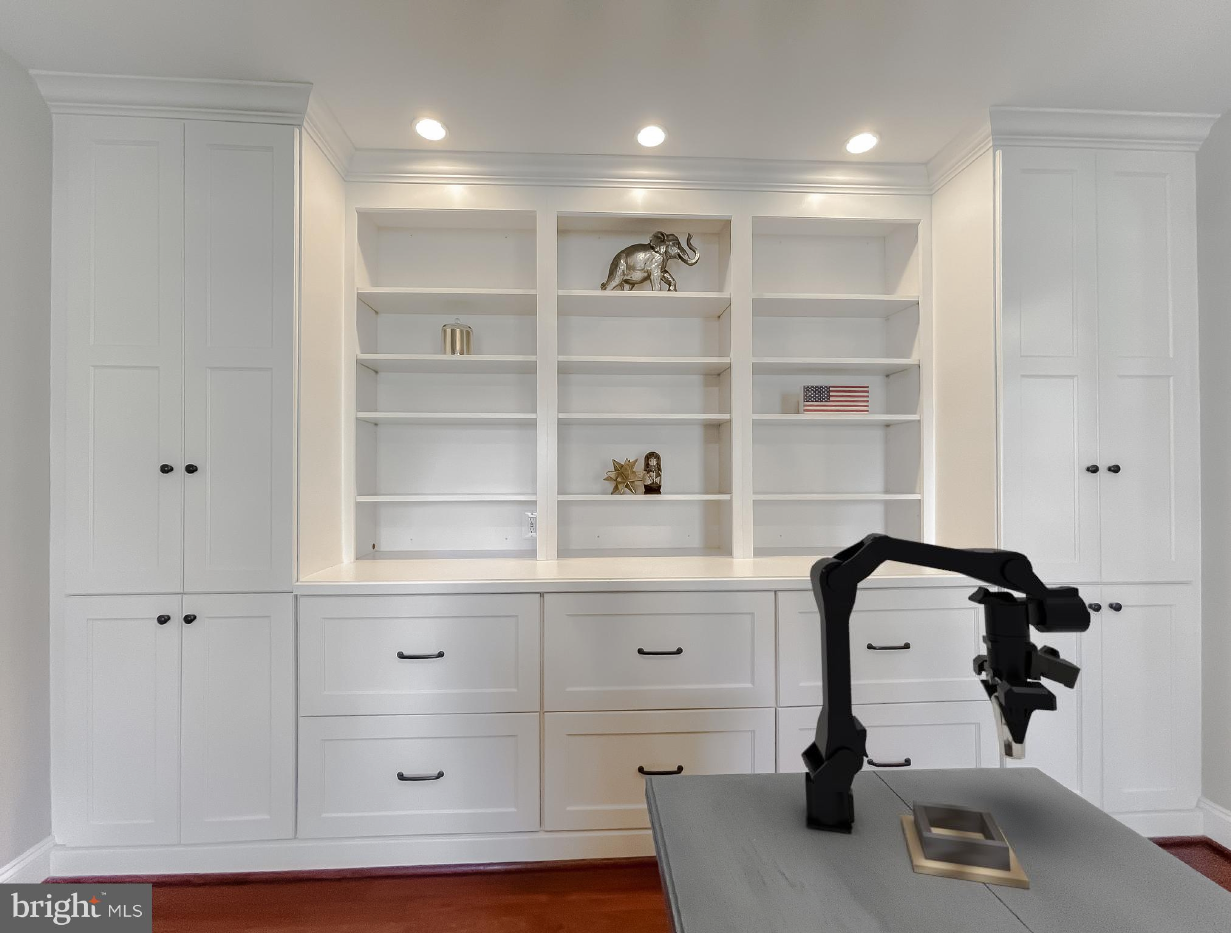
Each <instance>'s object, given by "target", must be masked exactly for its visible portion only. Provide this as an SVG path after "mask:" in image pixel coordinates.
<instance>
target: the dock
mask: <svg viewBox="0 0 1231 933" xmlns="http://www.w3.org/2000/svg"><path fill="white" fill-rule="evenodd" d="M912 814H913V815H908V814H902V813H901V814H900V822H901V825H902V830H903V833H904V836H905V841H906V844H907V848H908V852H909V856H910V859H911V864H912V868H913V872H914V873H916V874H917V873H919V874H925V875H931V876H937V877H938V876H939V877H945V878H951V879H952V878H953V879H959V880H965V881H972V882H977V883H978V882H979V883H985V884H991V885H1000V886H1007V887H1013V888H1020V889H1026V890H1030V881H1029V879H1028V876H1027V875H1026V873H1025V871H1024V870H1023V868H1022V866H1021V864H1020V862H1019V860H1018V859H1017V857H1016V854H1015V853H1014V851H1013V849H1012V847H1011V846H1010V844H1009V842H1008V840H1007V838H1006V837H1005V835H1004V833H1003V831H1002V830H1001V828H1000V826H999V825H998V824H997V823H996V820H995V819H994V818H995V817H993V815H992V813H991V811H990V809H989V808H983V807H982V808H981V807H975V806H974V807H972V806H967V805H966V806H965V805H964V806H963V805H956V804H946V803H941V802H939V803H938V802H930V801H924V800H923V801H921V800H912Z"/></svg>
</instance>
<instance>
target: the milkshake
mask: <svg viewBox="0 0 1231 933" xmlns="http://www.w3.org/2000/svg"><path fill="white" fill-rule="evenodd" d="M994 695H997V696H998V692H997V693H995V694H994ZM991 701H992V703H991V707H992V712H993V716H994V720H995V727H996V733H997V742H998V747H999V754H1000V755H1001V756H1003V757H1004V758H1006V759H1007V758H1008V759H1011V760H1018V761H1019V760H1020V761H1021V760H1024V759H1026V742H1027V741H1026V736H1027V734H1026V735H1025V739H1024V743H1023V744H1015V743H1014V741H1013V739H1012V737H1011V735H1010V733H1009V730H1008V728H1007V726H1006V724H1005V721H1004V719H1003V717H1002V715H1001V712H1000V710H999V708H998V706H997V703H996V701H995V699H994V696H992V697H991ZM991 701H990V702H991Z"/></svg>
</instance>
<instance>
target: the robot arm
mask: <svg viewBox="0 0 1231 933" xmlns="http://www.w3.org/2000/svg"><path fill="white" fill-rule="evenodd" d="M887 561H890V562H896V563H903V564H908V565H912V566H914V565H915V566H919V567H924V568H929V569H930V568H931V569H937V570H941V571H947V572H953V573H957V574H961V575H962V576H964V577H965V576H966V577H968V578H970V579H974V580H975V581H976V580H977V581H980V582H982V583H985V584H988V585H991V586H994V587H998V588H1002V589H1006V590H1009V591H990V590H989V588H987V587H984V586H981V585H980V586H978V588H977V589H976V590H975V591H973V592H972V593H971V594H970V595H969V596H967V599H968V601H970V602H973V603H976V604H978V605H983V612H984V630H985V633H984V634H985V635H984V634H983V635H982V636H981V637H982V643H983V644H984V645H985V646H986V654H977V655H976V656H975V657H974V658H973V659H972V669H973V672H974V673H975V674H976V676H982V674H983V672H984V673H985V678H984V679H982V678H981V679H980V680H979V682H980V684H981V685H982V687H983V689H984V691H985V693H986V695H987V697H988V699H989V702H990V704H992V701H991V697H992V696H994V699H995V701H996V703H997V706H998V708H999V710H1000V712H1001V715H1002V717H1003V719H1004V721H1005V724H1006V726H1007V728H1008V730H1009V733H1010V735H1011V737H1012V739H1013V741H1014V743H1015V744H1023V743H1024V739H1025V735H1026V736H1027V731H1028V727H1029V723H1030V721H1031V718H1032V715H1033V713H1034V712H1036V711H1049V712H1050V711H1051V712H1054V711H1058V704H1057V695H1055V693H1053V692H1052V691H1051V690H1050V689H1048V687H1047V686H1046V685H1044V684H1043V683H1041V682H1042V678H1044V679H1047V680H1050V681H1053V682H1054V683H1057V684H1061V685H1063V686H1064V687H1065V688H1068V689H1071V690H1073V689H1075V686H1076V683H1077V681H1078V677H1079V676H1080V673H1081V668H1080V667H1079V666H1078V665H1076V664H1074V663H1073V662H1071V661H1069V660H1067V659H1065V658H1061V655H1060V651H1059V650H1058V649H1056V648H1054V647H1052V646H1049V645H1047V644H1044V645H1042V646H1041V647H1040V648H1038V645H1036V643H1034V642H1033V641H1032V640H1031V628H1030V626H1031V627H1033V628H1034V629H1035V630H1036V631H1037V632H1038V633H1041V634H1043V633H1045V634H1049V633H1051V634H1052V633H1053V634H1054V633H1055V634H1056V633H1058V634H1059V633H1060V634H1062V633H1066V634H1068V633H1070V634H1071V633H1085V632H1087V631H1088V630H1089V628H1090V626H1091V623H1092V622H1091V619H1092V618H1091V612H1090V610H1089V609H1088V605H1087V603H1086V602H1085V600H1084V599H1083V597H1082V596H1080V591H1079V589H1080V588H1078V587H1075V586H1071V585H1060V586H1055V587H1053V586H1051V587H1047V585H1046V584H1045V583H1044V582H1043V581H1042V580H1041V579H1040V578H1039V577H1038V575H1037V574H1036V573H1035V572H1034V568H1033V565H1032V562H1031V561H1030V560H1029V558H1028V556H1027V555H1025V554H1023V553H1021V552H1018V551H1014V550H1007V549H1001V548H993V547H990V548H989V547H984V548H983V547H969V548H954V547H949V546H944V545H938V544H931V543H926V542H920V541H914V540H909V539H903V538H897V537H892V536H890V535H887V534H884V533H878V532H872V533H868V534H867V535H865V537H863V538H862V539H861V540H858V541H857V542H855V543H854V544H852V545H850V546H848V547H846V548H844V549H842V550H840V551H839V552H837V553H836V554H834V555H833V556H831V557H829V556H827V557H822V558H820V559H818V560H816V561H815V563H813V564H812V565H811V567H810V571H809V578H810V584H811V588H812V592H813V598H814V600H815V604H816V607H817V611H818V613H819V619H820V620H819V622H820V647H821V648H820V653H821V654H820V657H821V681H822V682H821V686H822V687H821V690H822V706H821V710H820V712H819V715H818V718H817V722H816V728H815V733H814V734H815V735H814V740H813V741H812V742H811V743H810V744H809V745H808V746H807V748H805V749H804V750H803V752H801V753H800V754H801V755H800V756H801V758H802V761H803V763H804V766H805V768H806V770H807V771H805V774H804V775H805V776H804V777H805V778H804V779H805V780H804V782H805V783H804V784H805V786H804V787H805V803H806V804H805V807H806V808H805V827H807V828H810V829H818V830H825V831H832V832H839V833H849V834H851V833H852V832H853V825H852V824H854V823H855V802H854V800H855V799H854V791H853V790H854V789H853V788H852V785H853V782H854V779H855V776H856V775H857V774H858V773H859V772H860V771H862V769H863V768H864V763H865V759H869V758H870V757H869V755H868V753H867V747H866V742H867V736H868V730H867V728H866V727H865V726H864V725H863V723H862V722H861V721H860V720H859V718H858V717H857V716H856V715H853V700H852V673H851V671H852V670H851V669H852V667H851V665H852V664H851V642H850V641H851V638H850V634H851V633H850V618H851V616H852V613H853V610H854V607H855V604H856V601H857V600H856V599H857V592H858V586H859V584H860V583H861V582H863V581H864V580H865V579H867V578H868V577H869V576H870V575H872V574H873V573H874V572H875V571H876V570H877V569H878V567H880V566H881V565H882V564H883V563H885V562H887ZM1010 591H1012V592H1016V593H1019V594H1023V595H1025V596H1015V595H1014V594H1013V593H1012V592H1010ZM997 692H998V696H997V695H994V694H995V693H997ZM864 757H865V758H864Z"/></svg>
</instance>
